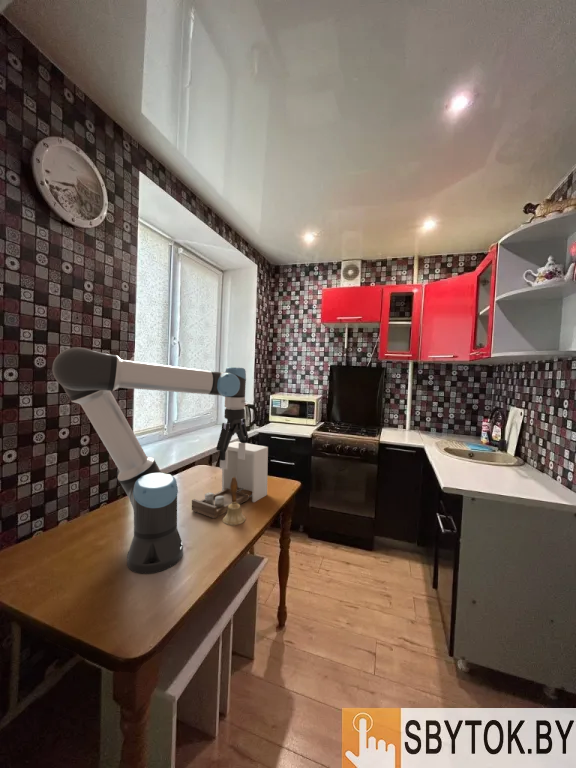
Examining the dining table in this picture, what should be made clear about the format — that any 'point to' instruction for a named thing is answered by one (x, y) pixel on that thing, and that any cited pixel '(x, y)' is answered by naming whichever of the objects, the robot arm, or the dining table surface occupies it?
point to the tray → (213, 508)
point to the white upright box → (247, 469)
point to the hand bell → (234, 508)
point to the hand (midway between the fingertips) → (233, 463)
